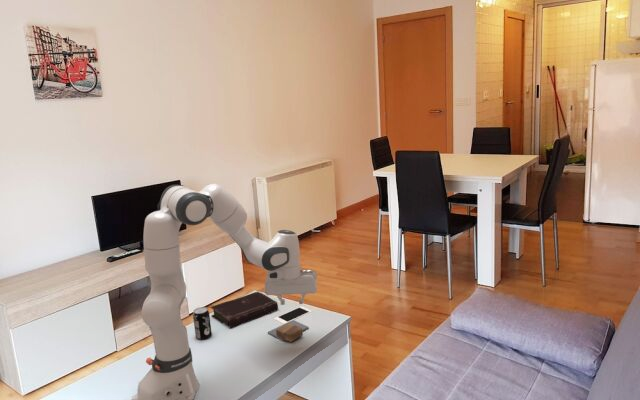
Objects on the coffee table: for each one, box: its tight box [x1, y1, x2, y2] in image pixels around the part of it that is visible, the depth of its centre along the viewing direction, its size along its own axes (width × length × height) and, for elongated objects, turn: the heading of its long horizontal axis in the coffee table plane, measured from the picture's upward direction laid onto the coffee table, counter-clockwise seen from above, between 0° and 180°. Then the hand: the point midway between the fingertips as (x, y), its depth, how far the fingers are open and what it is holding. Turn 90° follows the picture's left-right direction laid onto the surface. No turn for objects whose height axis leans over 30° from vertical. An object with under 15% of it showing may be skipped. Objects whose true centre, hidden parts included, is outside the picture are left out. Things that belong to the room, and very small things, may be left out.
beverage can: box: [192, 306, 213, 341], centre depth 213 cm, size 7×7×12 cm
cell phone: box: [273, 305, 313, 325], centre depth 228 cm, size 8×16×1 cm, turn 132°
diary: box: [210, 291, 279, 330], centre depth 233 cm, size 19×25×5 cm
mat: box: [267, 319, 310, 342], centre depth 214 cm, size 14×10×1 cm
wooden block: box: [276, 323, 304, 343], centre depth 208 cm, size 3×7×8 cm
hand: (292, 303), depth 201 cm, fingers open, 6 cm apart
